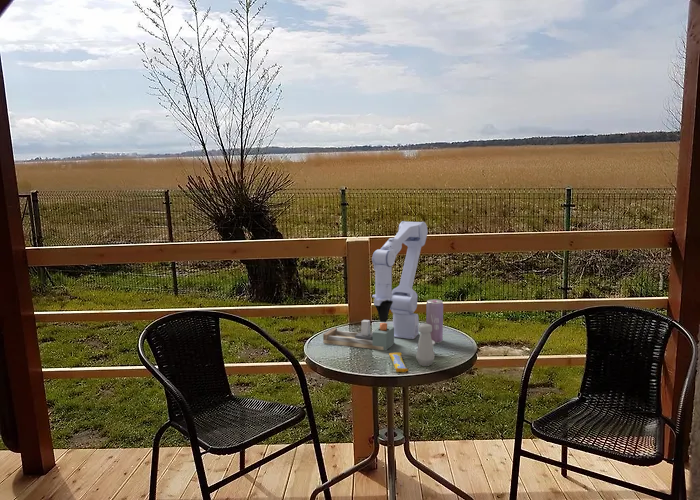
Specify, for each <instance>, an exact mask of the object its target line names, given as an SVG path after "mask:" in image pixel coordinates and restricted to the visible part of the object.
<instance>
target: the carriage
mask: <svg viewBox="0 0 700 500" xmlns="http://www.w3.org/2000/svg"><path fill="white" fill-rule="evenodd" d="M360 322H361V325H360V327H361V328H360V329H361V331H360V332H357V333H358V334H357V335H355V338H357V339H366V340H373V332H371V320H369V319H363V320H361V321H360Z"/></svg>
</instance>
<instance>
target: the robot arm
mask: <svg viewBox="0 0 700 500" xmlns="http://www.w3.org/2000/svg"><path fill="white" fill-rule="evenodd" d="M427 225H428V224H426V222H425V221H405V220H402V221H401V222H400V223H399V224H398V231H397V232H396V234H395V236H394V237H389V238H388V240H387V241H385V243H384V244H383V245H382V247H380V249H379V248H378V249H376V250H375V251H374V252H373V254H372V257H371V262H372V265H373V271H374V272H375V274H374V275H375V278H374V279H375V280H374V285H375V287H374V288H375V289H374V290H375V291H374V293H375V294H372V295H371V297H372V298H374V299H373V306H374V307H375V308H376V311H377V314H378V318H379V322H380V323H387V322H388V317H389V313H390V311H391V313H392V327H394V338H402V339H409V340H414V339H415V338H416V337H418V335H420V332H419V325H420V323H419V321H420V320H419V314H418V313H414V312H415V311H416V310H417V307H418V297H419V296H418V293H417V292H416V291H415V290H414V289H413V286H414V285H413V284H414V281H415V278H416V277H415V276H416V273H417V272H416V271H417V268H418V264H419V260H420V254H421V250H422V247H424V246H425V245H426V241H427V237H428V232H429V231H428V226H427ZM403 245H404V246H407V249H406V255H405V258H404V262H403V267H402V272H401V276H400V279H399V284H398V286H396V287H394V288H393V285H392V283H393V279H392V278H393V275H392V269H393V267H392V266H394V264H395V261H396V258H397V255H398V254H399V253H400V252H401V250H402V248H403Z"/></svg>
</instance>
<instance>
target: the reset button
mask: <svg viewBox="0 0 700 500" xmlns="http://www.w3.org/2000/svg"><path fill="white" fill-rule="evenodd" d="M387 326H388V323H387V322H380V323H379V327H380V331H387Z"/></svg>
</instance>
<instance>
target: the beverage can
mask: <svg viewBox="0 0 700 500" xmlns="http://www.w3.org/2000/svg"><path fill="white" fill-rule="evenodd" d="M443 302H444V301H443V300H440V299H435V298H433V299H428V300H426V309H425V310H426V311H425V312H426V314H425V315H426V320H425V322H426V323H425V324H430V325H431V326H432V332H430V334H431V340H433V341H434V342H435V344H441V343H442V342H443V338H444V337H443V334H444V303H443Z"/></svg>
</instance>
